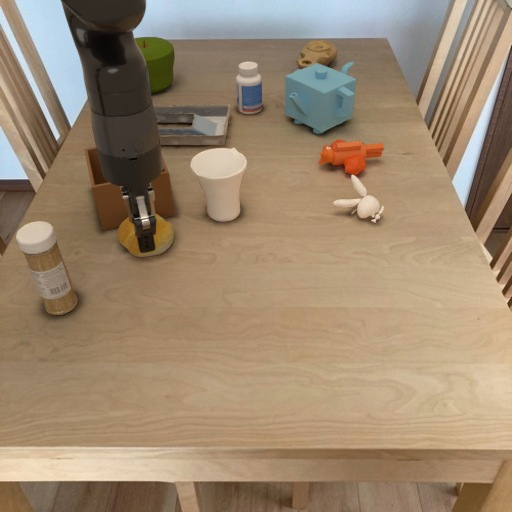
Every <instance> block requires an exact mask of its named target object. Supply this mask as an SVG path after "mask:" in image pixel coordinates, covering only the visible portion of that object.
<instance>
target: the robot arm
mask: <svg viewBox="0 0 512 512" xmlns="http://www.w3.org/2000/svg"><path fill="white" fill-rule="evenodd" d="M60 3H61V6H62V10H63V13H64V16H65V20H66V23H67V27H68V28H69V32H70V35H71V38H72V40H73V43H74V46H75V49H76V52H77V54H78V57H79V60H80V64H81V69H82V76H83V82H84V87H85V93H86V96H87V101H88V106H89V109H90V111H89V112H90V124H91V130H92V134H93V139H94V142H95V147H96V148H97V152H98V157H99V161H100V166H101V170H102V174H103V177H104V178H105V179H106V180H107V181H108V182H109V183H111V184H113V185H116V186H120V190H121V194H122V197H123V202H124V205H125V206H126V209H127V213H128V217H129V221H130V222H131V223H132V224H133V225H134V228H133V229H134V232H135V236H136V237H137V242H138V247H139V250H140V252H141V253H146V252H151V251H154V250H155V248H156V247H155V241H154V235H156V222H157V220H156V218H155V216H156V215H155V208H154V201H155V195H154V190H153V187H151V182H152V181H153V180H155V179H156V178H157V177H159V175H160V174H161V173H162V170H163V159H164V158H163V159H162V156H163V153H162V145H161V144H160V137H159V130H158V128H159V123H157V116H156V113H155V109H154V106H155V105H154V102H153V96H152V93H151V88H150V81H149V73H148V68H147V64H146V61H145V58H144V56H143V54H142V52H141V51H140V49H139V47H138V46H137V44H136V42H135V39H134V38H135V35H134V31H135V30H136V29H137V28H138V26H140V24H141V22H142V21H143V20H144V17H145V14H146V10H147V0H60Z"/></svg>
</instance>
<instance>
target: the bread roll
mask: <svg viewBox="0 0 512 512" xmlns="http://www.w3.org/2000/svg"><path fill="white" fill-rule="evenodd" d="M155 215H156V216H155V218H156V220H157V222H156V235H154V241H155V247H156V248H155V250H154V251H151V252H146V253H141V252H140V250H139V247H138V242H137V237H136V236H135V232H134V229H133V228H134V225H133V224H132V223H131V222H130V221H129V217H128V218H127V219H126V220H124V221H123V222H122V223H121V225H120V226H119V227H118V228H117V231H116V236H117V240H118V242H119V243H120V244H121V245H122V246H123V247H124V248H126V250H128V252H129V253H130V254H132V255H133V256H135V257H138V258H140V257H141V258H144V257H145V258H146V257H151V256H152V257H153V256H157V255H158V256H159V255H160V254H163V253H165V252H166V251H167V250H168V249H169V248H170V247H171V246H172V244H173V242H174V239H175V230H174V226H173V224H172V223H170V222H169V221H167V220H166V219H164V218H162V217H160V216H159V215H158V214H155Z"/></svg>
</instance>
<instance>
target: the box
mask: <svg viewBox="0 0 512 512" xmlns="http://www.w3.org/2000/svg"><path fill="white" fill-rule="evenodd" d="M83 151H84V157H85V160H86V166H87V171H88V177H89V181H90V186H91V190H92V194H93V197H94V198H93V199H94V201H95V205H96V210H97V213H98V217H99V221H100V224H101V228H102V231H107V230H111V229H116V228H117V229H118V228H119V226H120V225H121V223H122V222H123V221H124V220H126V219H127V218H128V213H127V209H126V206H125V205H124V202H123V197H122V194H121V190H120V186H116V185H113V184H111V183H109V182H108V181H107V180H106V179H105V178H104V177H103V174H102V170H101V166H100V161H99V157H98V152H97V148H96V146H93V147H87V148H84V149H83ZM162 159H163V170H162V173H161V174H160V175H159V177H157V178H156V179H155V180H153V181H152V182H151V187H153V190H154V195H155V201H154V208H155V214H158V215H159V216H160V217H162V218H163V219H164V218H168V217H173V216H176V211H175V205H174V198H173V190H172V184H171V177H170V171H169V169H168V166H167V164H166V162H165V159H164V156H163V155H162Z"/></svg>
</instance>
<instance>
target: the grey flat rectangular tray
mask: <svg viewBox="0 0 512 512" xmlns="http://www.w3.org/2000/svg"><path fill="white" fill-rule="evenodd" d="M153 106H154V109H155V113H156V116H157V123H158V124H161V123H163V124H165V123H167V124H169V123H171V124H173V123H176V124H178V123H181V124H182V123H185V124H186V123H187V124H191V123H192V125H191V126H188V127H178V126H177V127H167V126H161V127H158V130H159V137H160V144H161V146H224V145H225V143H226V140H227V139H226V136H227V133H228V126H229V120H230V112H231V111H230V110H231V106H232V105H231V103H229V104H226V103H213V104H211V103H209V104H207V103H201V104H195V103H194V104H187V103H186V104H181V105H175V104H173V105H172V106H170V105H153Z"/></svg>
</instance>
